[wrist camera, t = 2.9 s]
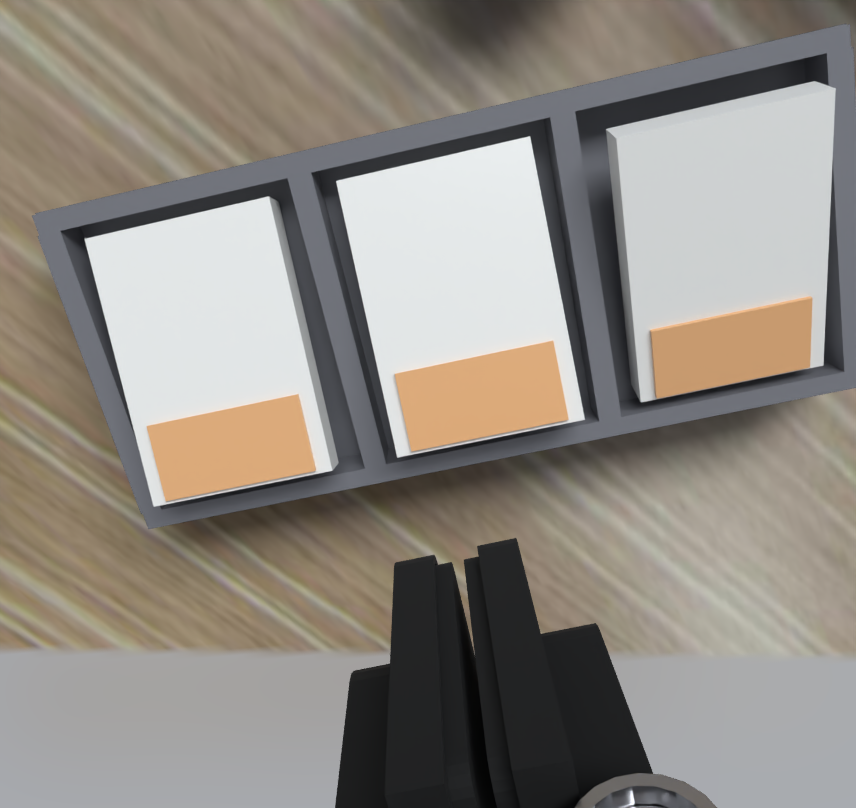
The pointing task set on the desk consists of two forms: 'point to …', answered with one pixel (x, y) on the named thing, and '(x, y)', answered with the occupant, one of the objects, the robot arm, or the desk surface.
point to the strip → (571, 245)
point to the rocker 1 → (213, 351)
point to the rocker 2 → (724, 239)
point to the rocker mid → (462, 297)
